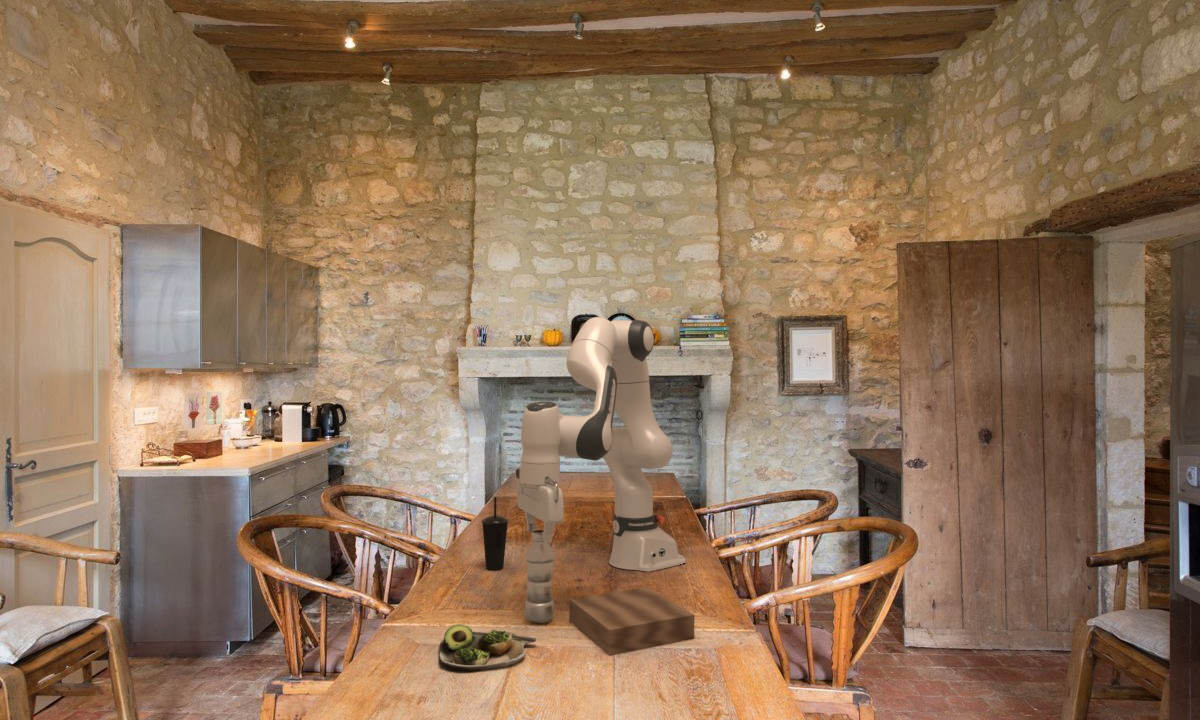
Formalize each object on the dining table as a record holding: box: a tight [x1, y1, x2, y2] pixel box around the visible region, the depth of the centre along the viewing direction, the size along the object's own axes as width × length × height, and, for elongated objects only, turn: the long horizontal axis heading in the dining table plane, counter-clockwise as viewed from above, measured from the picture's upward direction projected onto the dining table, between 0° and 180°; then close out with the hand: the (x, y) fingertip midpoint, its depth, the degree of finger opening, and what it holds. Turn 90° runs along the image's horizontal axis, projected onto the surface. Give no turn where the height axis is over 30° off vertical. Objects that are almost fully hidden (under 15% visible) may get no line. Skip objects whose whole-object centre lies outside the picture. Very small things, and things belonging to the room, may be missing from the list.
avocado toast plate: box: [438, 623, 537, 673], centre depth 138 cm, size 19×18×5 cm
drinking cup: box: [481, 496, 510, 572], centre depth 195 cm, size 8×8×20 cm
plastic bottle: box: [523, 529, 556, 624], centre depth 155 cm, size 6×7×20 cm
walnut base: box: [568, 586, 695, 656], centre depth 150 cm, size 20×20×5 cm
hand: (539, 536), depth 155 cm, fingers open, 8 cm apart
